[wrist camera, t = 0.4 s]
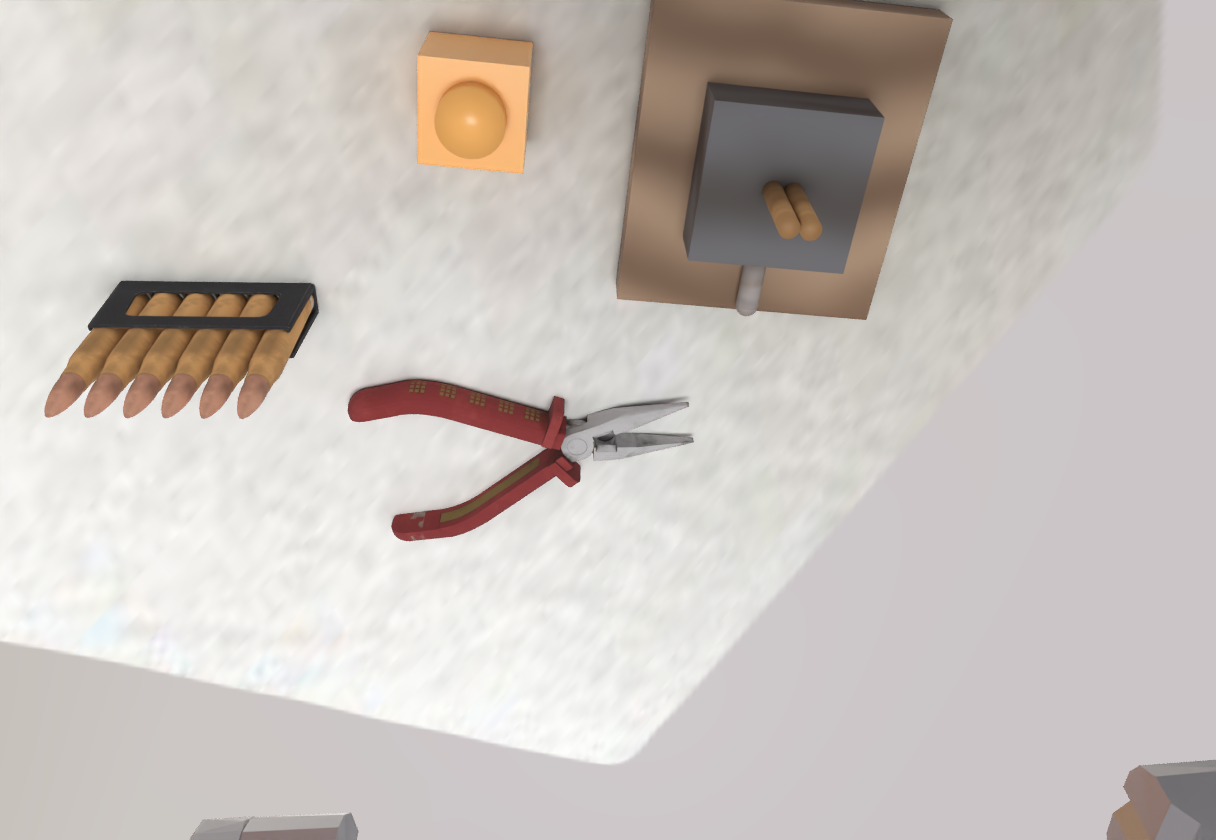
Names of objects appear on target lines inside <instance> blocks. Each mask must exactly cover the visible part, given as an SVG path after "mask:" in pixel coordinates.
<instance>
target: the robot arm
mask: <svg viewBox="0 0 1216 840" xmlns="http://www.w3.org/2000/svg"><path fill="white" fill-rule="evenodd" d="M1123 787H1124V789H1125V791H1126V793H1127V794H1128V797H1129V799H1130V801H1129V802H1128V803H1126V804H1125V805H1124V806H1122V807H1121V808H1120V809H1118V810H1117V811H1115V812H1114V813H1113V815H1112V818H1111V821H1110V824H1109V827H1108V831H1107V840H1216V760H1207V761H1195V762H1181V763H1167V764H1154V765H1142V766H1138V767H1137V768H1135V769H1133V770H1131V771H1130V772H1129V774H1128V777H1127V779H1126V781H1125V784H1124V786H1123ZM357 835H358V829H357V827H356V824H355V821H354V819H353V816H352V814H351V813H332V814H312V815H292V816H271V817H239V818H224V819H207V820H202V822H201V824H200V825H199V826H198V828H197V829H196V831H195V832H194V833H193V835H192V836H191V838H190V840H357Z"/></svg>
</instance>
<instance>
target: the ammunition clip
mask: <svg viewBox="0 0 1216 840" xmlns="http://www.w3.org/2000/svg"><path fill="white" fill-rule="evenodd" d="M317 314H318V306H317V299H316V293H315V286H314V285H312V284H311V283H243V282H163V281H121V282H120V283H119V284H118V286H117V287H116V288H115V290H114V291H113V292H112V294H111V295H110V296H109V298H108V299H107V300H106V302H105V303H104V304H103V306H102V307H101V308H100V310H99V311H98V312H97V314H96V315H95V316H94V318H93V319H92V321H91V322H90V323H89V325H88V329H89V331H91V330H92V329H93V330H92V331H91V332H90V333H89V335H88V336H87V337H86V338H85V340H84V341H83V342H82V343H81V345H80V346H79V347H78V348H77V349H76V351H75V352H74V353H73V354H72V356H71V357H70V359H69V362H68V364H67V367H66V369H65V370H64V371H63V373H62V374H61V376H60V378H59V380H58V381H57V382H56V383H55V385H54V386H53V388H52V390H51V392H50V394H49V396H48V399H47V401H46V405H45V416H46V417H48V418H49V417H53V416H56V415H58V414H59V413H61V412H63V411H64V410H66V409H67V408H68V407H69V406H70V405H72V404H73V403H74V402H75V401H76V400H77V399H78V398H79V396H80V395H81V394H82V393H83V392H84V391H85V390H86V389H87V388H88V387H89V385H90V384H91V383H93V382H94V381H95V380H96V381H95V383H94V384H93V386H92V388H91V390H90V392H89V394H88V396H87V399H86V402H85V406H84V415H85V417H87V418H90V417H93V416H95V415H97V414H99V413H100V412H102V411H103V410H105V409H106V408H107V407H108V406H109V405H110V404H111V403H112V402H113V401H114V400H115V399H116V398H117V397H118V395H119V394H120V392H122V391H123V390H124V388H125V387H126V386H127V385H128V383H130V382H131V381H132V380H133V379H135V380H134V382H133V383H132V385H131V387H130V389H129V391H128V393H127V396H126V398H125V402H124V407H123V413H124V417H125V418H130V417H133V416H135V415H137V414H138V413H140V412H141V411H142V410H143V409H144V408H146V407H147V406H148V405H149V404H150V403H151V401H152V400H153V399H154V398H155V396H156V395H157V393H158V392H159V391H160V390H161V389H162V388H163V386H164V385H165V384H166V383H167V382H168V381H169V380H170V379H171V378H172V377H173V378H172V380H171V382H170V384H169V385H168V388H167V390H166V392H165V395H164V398H163V401H162V408H161V410H162V416H163V418H169V417H172V416H173V415H175V414H176V413H178V412H179V411H180V410H181V409H182V408H183V407H184V406H185V405H186V404H187V403H188V402H189V401H190V399H191V398H192V396H193V395H194V393H195V392H196V391H197V390H198V388H199V387H200V385H201V384H202V383H203V382H204V381H205V380H206V379H207V378H208V377H209V376H210V377H209V379H208V382H207V384H206V386H205V388H204V390H203V393H202V396H201V400H200V408H199V409H200V416H201V418H203V419H205V418H208V417H210V416H212V415H213V414H214V413H215V412H217V411H218V410H219V409H220V408H221V407H222V406H223V404H224V403H225V402H226V401H227V399H228V397H229V396H230V394H231V392H232V391H233V390H234V388H235V387H236V385H237V384H238V383H239V382H240V381H241V380H242V379H243V378H244V377H245V375H246V373H247V371H248V373H247V376H246V378H245V380H244V384H243V386H242V388H241V391H240V394H239V397H238V405H237V411H238V416H239V418H241V419H244V418H246V417H248V416H250V415H251V414H252V413H253V412H254V411H255V410H256V409H257V408H258V407H259V406H260V405H261V403H262V402H263V400H264V399H265V397H266V395H267V393H268V392H269V390H270V389H271V387H272V385H273V383H274V382H275V381H276V380H277V379H278V378H279V377H280V375H281V374H282V372H283V370H284V367H285V365H286V363H287V361H288V359H289V358H294V357H295V355H296V353H297V351H298V349H299V347H300V346H301V344H302V342H303V340H304V338H305V336H306V335H307V333H308V331H309V329H310V327H311V325H312V324H313V322H314V320H315V318H316V316H317Z"/></svg>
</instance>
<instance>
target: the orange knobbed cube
mask: <svg viewBox="0 0 1216 840" xmlns="http://www.w3.org/2000/svg"><path fill="white" fill-rule="evenodd" d="M532 49H533V42H526V41H516V40H507V39H497V38H488V37H478V36H469V35H459V34H450V33H440V32H431V31H430V32H429V34H428V36H427V38H426V40H425V42H424V44H423V46H422V48H421V50H420V52H419V54H418V129H417V164H424V165H435V166H446V167H456V168H467V169H478V170H488V171H499V172H510V173H520V174H523V169H524V160H525V152H526V143H527V128H528V112H529V96H530V81H531V65H532Z"/></svg>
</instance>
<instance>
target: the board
mask: <svg viewBox="0 0 1216 840" xmlns="http://www.w3.org/2000/svg"><path fill="white" fill-rule="evenodd" d="M952 20H953V19H952V18H950V17H949V16H947V15H946V14H945V13H943V12H942V11H940V10H936V9H927V8H918V7H909V6H900V5H891V4H882V3H873V2H864V1H855V0H651V7H650V15H649V23H648V31H647V39H646V47H645V55H644V63H643V71H642V79H641V87H640V95H639V103H638V111H637V119H636V127H635V135H634V143H633V151H632V159H631V167H630V175H629V183H628V190H627V198H626V206H625V214H624V222H623V230H622V238H621V246H620V254H619V262H618V270H617V278H616V289H617V299H624V300H635V301H647V302H659V303H671V304H683V305H695V306H707V307H719V308H731V309H737V311H738V312H739V313H740V314H741V315H743V316H750V315H752V314H754V313H755V312H756V311H767V312H779V313H790V314H802V315H814V316H826V317H838V318H850V319H862V320H866V319H867V315H868V312H869V308H870V305H871V302H872V298H873V295H874V291H875V288H876V284H877V281H878V277H879V274H880V270H881V267H882V263H883V260H884V256H885V253H886V249H887V246H888V243H889V239H890V236H891V232H892V229H893V225H894V222H895V218H896V215H897V211H898V208H899V204H900V201H901V197H902V194H903V190H904V187H905V184H906V180H907V177H908V173H909V170H910V166H911V163H912V159H913V156H914V152H915V149H916V145H917V142H918V138H919V135H920V131H921V128H922V125H923V121H924V118H925V114H926V111H927V107H928V104H929V100H930V97H931V93H932V90H933V86H934V83H935V79H936V76H937V72H938V69H939V65H940V62H941V59H942V55H943V52H944V48H945V45H946V41H947V38H948V34H949V31H950V27H951V24H952Z"/></svg>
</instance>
